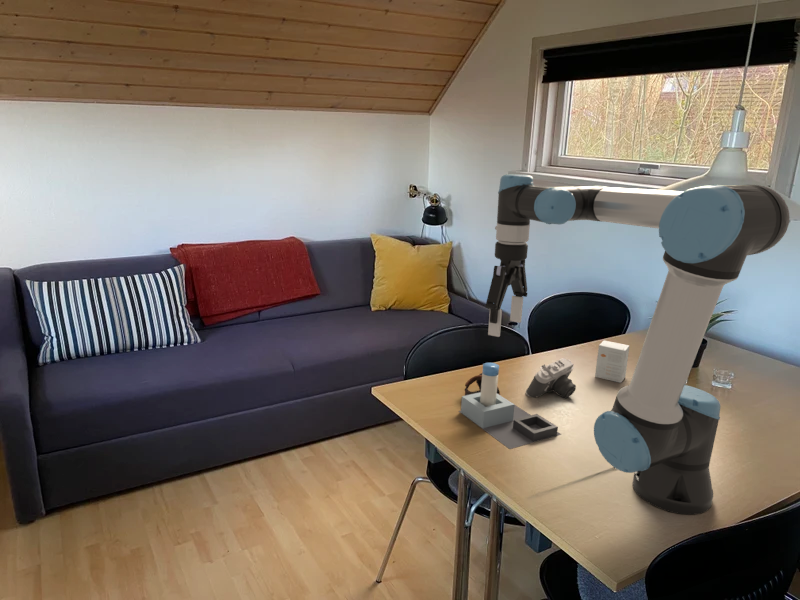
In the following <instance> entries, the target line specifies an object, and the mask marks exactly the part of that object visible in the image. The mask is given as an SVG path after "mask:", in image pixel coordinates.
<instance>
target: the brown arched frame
mask: <svg viewBox="0 0 800 600" xmlns="http://www.w3.org/2000/svg"><path fill="white" fill-rule="evenodd" d="M475 382H476V384H477V385H476V386H478V389H479V390H477V391H472V390H471V391H470V390H469V387H471V385H472V384H473V383H475ZM481 383H482V373H479V374H478V375H475V376H473V377H470V378H469V379H468V380H467V381H466V382H465V384H464V386H465V388H464V396H466V395H470V394H475V393H479V392H481ZM497 394H499V395H501V393H500V389H499V387H498V385H497Z"/></svg>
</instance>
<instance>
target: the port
mask: <svg viewBox="0 0 800 600" xmlns="http://www.w3.org/2000/svg"><path fill="white" fill-rule="evenodd" d="M480 395H481V392H479V393H475V394H470V395H466V396H465V395H461V405H460V411H461V413H463V414H464V415H465V416H467V417H468V418H469V419H471V420H472V421H473V422H475V423H476V424H478V425H479V426H480V427H482V428H486V427H490V426H494V425H498V424H502V423H505V422H509V421H513V416H514V405H516V404H515V403H513V402H511V401H510V400H508V399H507V398H505V397H503V396H502V394H500V395H499V394H497V395H496V405H491V406H487V407H485V406H484V405H482V404H481V403H480ZM461 413H460V414H461ZM463 414H462V415H463ZM464 415H463V416H464ZM465 416H464V417H465ZM467 417H466V418H467ZM468 418H467V419H468ZM469 419H468V420H469ZM471 420H470V421H471ZM472 421H471V422H472ZM473 422H472V423H473ZM475 423H474V424H475ZM476 424H475V425H476ZM478 425H477V426H478ZM479 426H478V427H479ZM480 427H479V428H480ZM482 428H481V429H482Z"/></svg>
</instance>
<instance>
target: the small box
mask: <svg viewBox="0 0 800 600" xmlns="http://www.w3.org/2000/svg"><path fill="white" fill-rule="evenodd" d="M629 352H630V344H629V345H628V344H623V343H619V342H615V341H614V342H613V341H609V340H605V339H603V340H602V342H601V343H599V345H598V350H597V358H596V365H595V367H596V368H595V375H594V376H595V378H598V379H603V380H607V381H612V382H615V383H620V384H622V382H623V381H624V380H625V378H626V374H627V367H628V361H629V360H628V359H629Z"/></svg>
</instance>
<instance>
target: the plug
mask: <svg viewBox="0 0 800 600" xmlns="http://www.w3.org/2000/svg"><path fill="white" fill-rule="evenodd" d="M499 369H500V365H499V364H498V363H495V362H485V363H482V383H481V395H480V403H481V404H482V405H484V406H485V407H487V406H491V405H496V395H497V386H498V383H499V373H500V370H499Z"/></svg>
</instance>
